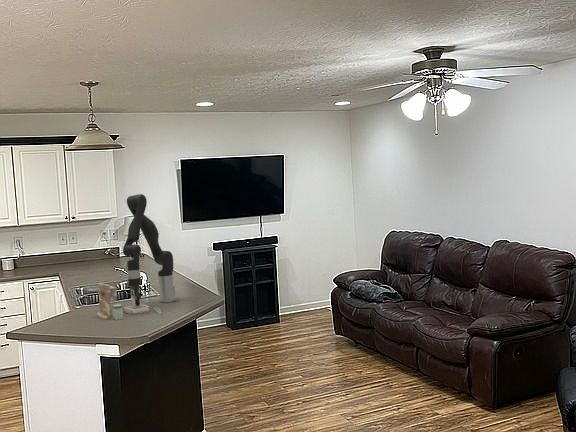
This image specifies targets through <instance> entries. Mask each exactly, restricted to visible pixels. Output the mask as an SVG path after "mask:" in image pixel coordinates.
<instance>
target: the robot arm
mask: <svg viewBox="0 0 576 432" xmlns="http://www.w3.org/2000/svg"><path fill="white" fill-rule="evenodd" d="M147 200H148V199H147V197H146V195H144V194H142V193H139V194H134V195H129V196H128V197H127V198H126V204H127V208H128V209H129V211H130V212H131V214H132V216H133V219H132V220H131V222H130V224H129V227H128V231H127V238H126V240H125V243H124V246H123V247H122V253H123V255H124V256H125V257H133V259H129V260H127V261H126V265H127V266H126V267H127V268H126V269H127V281H128V282H127V285H128V286H129V288H128V290H129V294H130V296H131V295H134V296H135V299H136V306H139V305H140V302H141V299H142V289H140V285H142V277H141V271H140V258H141V253H142V247H141V246H140V245H139V244H134V243H136V242H138V241H140V234H141V233H142V235H143V237H144V238H145V240H146V242H147V244H148V246H149V249H150V252H151V254H152V258H153V260H154V262H155V263H156V264H157V265H161V269H160V270H159V271H157V274H158V275H157V276H158V287H159V288H158V289H159V302H160V303H172V302H175V301H177V299H176V286H175V285H174V275H173V272H174V256H173V253H172V252H171V251H169V250H163V249H162V248H161V246H160V243H159V238H160V237H159V235H160V234H159V230H158V228H157V226H156V224H155V223H154V221H152V220H151V219H150V217H148V216H146V215H145V212H146V209H147V204H148V203H147V202H148V201H147ZM139 295H140V296H139ZM136 296H137V297H136ZM139 299H140V300H139Z"/></svg>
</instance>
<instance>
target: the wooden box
mask: <svg viewBox="0 0 576 432" xmlns="http://www.w3.org/2000/svg"><path fill="white" fill-rule="evenodd" d="M97 290H98V303H99V311H100V312H96V316H97V317H100V318H102V319H104V320H111V319H114V315H113V309H112V303H115V302H118V293H117V292H118V291H117V287H116V286H112V285H109V284H106V283H102V282H98V283H97Z"/></svg>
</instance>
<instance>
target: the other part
mask: <svg viewBox="0 0 576 432" xmlns="http://www.w3.org/2000/svg"><path fill="white" fill-rule="evenodd" d="M112 314H113V315H114V318H113V320H116V321H117V320H123V319H124V316H123V305H122V304H121V303H117V304H113V305H112Z"/></svg>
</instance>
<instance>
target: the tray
mask: <svg viewBox="0 0 576 432" xmlns="http://www.w3.org/2000/svg"><path fill="white" fill-rule="evenodd" d="M150 311H151V310H150V306H149V305H146V304H143V303H141V308H138V309H133V308H132V305H129V306H124V307H123V312H124V313H125V314H127V315H130V316H132V315H139V314H143V313H148V312H150Z"/></svg>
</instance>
